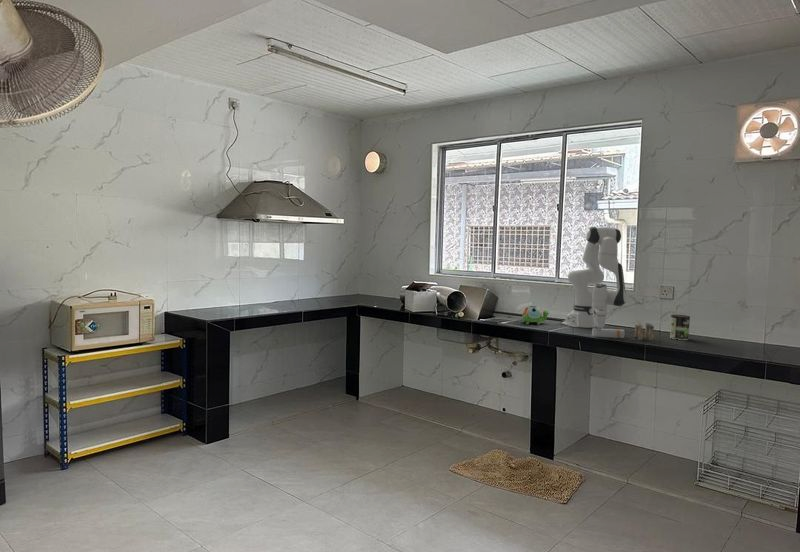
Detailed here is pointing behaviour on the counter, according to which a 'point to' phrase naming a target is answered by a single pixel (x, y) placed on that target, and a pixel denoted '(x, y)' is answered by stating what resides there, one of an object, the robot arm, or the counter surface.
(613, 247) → the robot arm
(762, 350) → the counter surface
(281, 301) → the counter surface
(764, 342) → the counter surface
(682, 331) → the coffee can
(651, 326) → the collar
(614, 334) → the tube
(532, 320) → the turtle holder
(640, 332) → the collar
